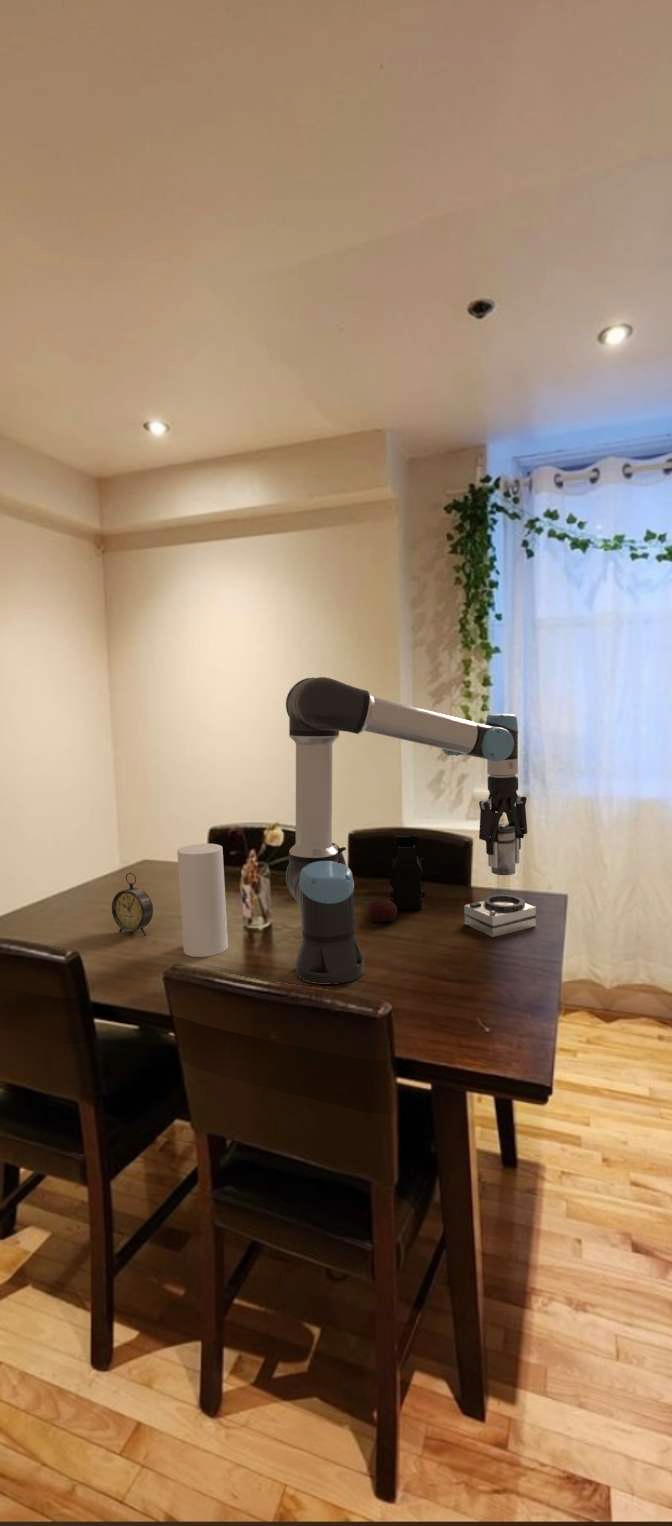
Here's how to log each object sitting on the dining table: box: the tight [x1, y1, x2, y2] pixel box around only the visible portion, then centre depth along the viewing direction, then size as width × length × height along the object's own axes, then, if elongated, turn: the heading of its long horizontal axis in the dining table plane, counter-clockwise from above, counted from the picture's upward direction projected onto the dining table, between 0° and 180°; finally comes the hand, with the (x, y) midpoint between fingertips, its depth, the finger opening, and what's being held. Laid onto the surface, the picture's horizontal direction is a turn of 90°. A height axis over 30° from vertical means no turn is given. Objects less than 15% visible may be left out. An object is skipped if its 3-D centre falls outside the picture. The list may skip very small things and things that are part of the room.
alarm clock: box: [111, 872, 154, 937], centre depth 177 cm, size 11×5×16 cm, turn 64°
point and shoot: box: [463, 894, 537, 938], centre depth 173 cm, size 14×11×6 cm
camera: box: [389, 834, 426, 910], centre depth 193 cm, size 10×14×20 cm
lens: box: [490, 823, 517, 876], centre depth 172 cm, size 6×6×12 cm
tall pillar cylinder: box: [176, 843, 229, 958], centre depth 164 cm, size 11×11×25 cm
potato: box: [367, 898, 398, 923], centre depth 179 cm, size 7×8×6 cm
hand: (503, 864), depth 173 cm, fingers closed on lens, 6 cm apart
